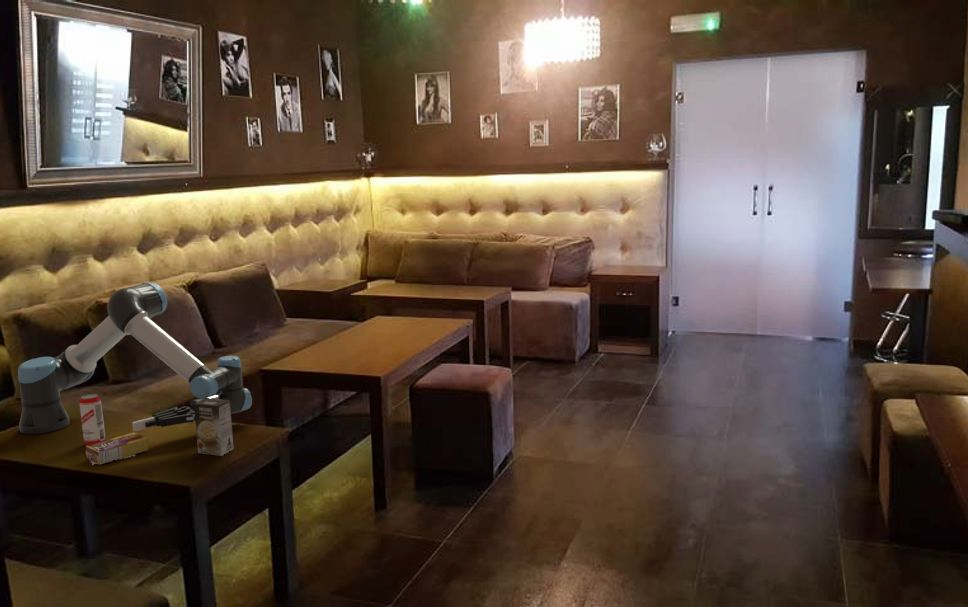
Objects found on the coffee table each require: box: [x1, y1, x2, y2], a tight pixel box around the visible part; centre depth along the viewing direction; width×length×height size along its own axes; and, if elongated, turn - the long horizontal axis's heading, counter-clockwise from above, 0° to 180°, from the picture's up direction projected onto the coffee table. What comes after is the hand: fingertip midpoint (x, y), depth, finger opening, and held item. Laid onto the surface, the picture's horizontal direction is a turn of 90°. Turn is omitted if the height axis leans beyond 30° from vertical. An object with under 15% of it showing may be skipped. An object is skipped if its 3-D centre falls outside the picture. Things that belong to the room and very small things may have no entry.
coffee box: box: [194, 398, 234, 457], centre depth 244 cm, size 9×6×16 cm
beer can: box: [79, 393, 107, 446], centre depth 254 cm, size 6×6×16 cm
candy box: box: [85, 431, 149, 465], centre depth 243 cm, size 9×4×15 cm
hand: (133, 426), depth 247 cm, fingers closed
